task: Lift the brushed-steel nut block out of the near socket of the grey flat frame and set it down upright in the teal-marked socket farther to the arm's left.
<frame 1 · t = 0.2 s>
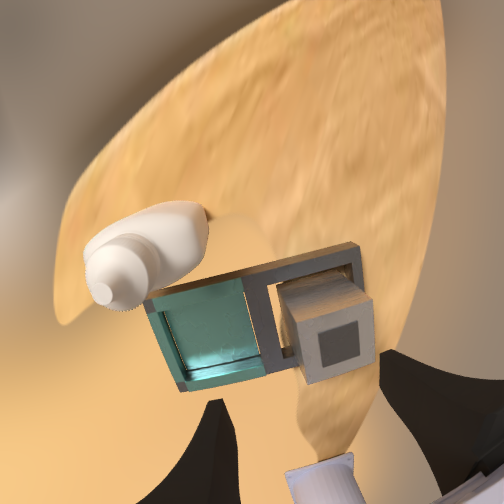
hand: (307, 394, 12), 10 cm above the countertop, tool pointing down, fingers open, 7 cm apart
grey flat frame: (262, 318, 22), on the countertop
nut block: (310, 304, 22), resting in grey flat frame
eye dropper bottle: (166, 227, 20), on the countertop
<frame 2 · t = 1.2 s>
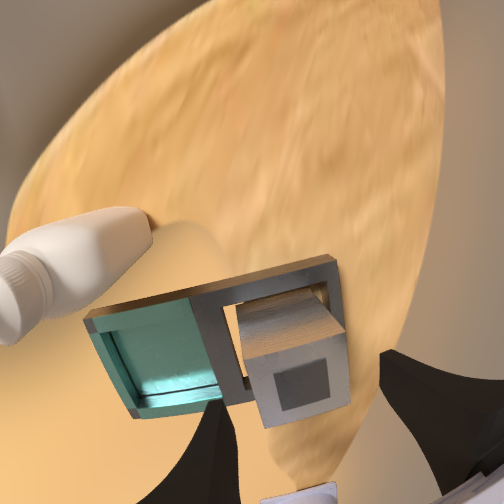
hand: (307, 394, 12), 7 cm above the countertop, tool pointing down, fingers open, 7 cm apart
grey flat frame: (220, 343, 18), on the countertop
nut block: (279, 328, 19), resting in grey flat frame
eye dropper bottle: (109, 237, 16), on the countertop
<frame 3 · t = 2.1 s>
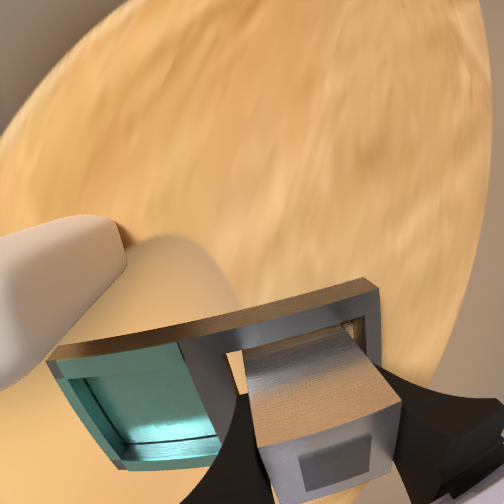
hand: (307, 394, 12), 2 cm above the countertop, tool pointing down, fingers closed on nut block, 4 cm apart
grey flat frame: (222, 390, 14), on the countertop
nut block: (297, 372, 14), resting in grey flat frame, touching gripper
eye dropper bottle: (72, 255, 12), on the countertop
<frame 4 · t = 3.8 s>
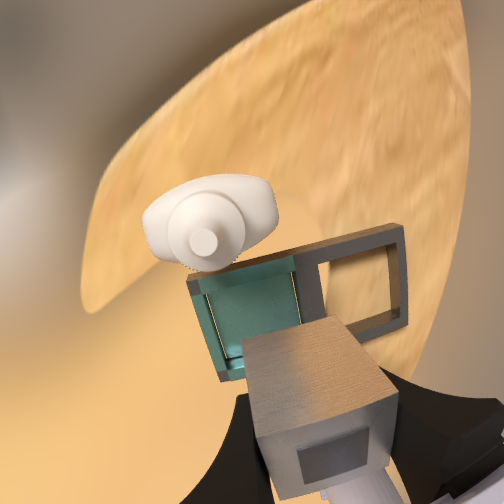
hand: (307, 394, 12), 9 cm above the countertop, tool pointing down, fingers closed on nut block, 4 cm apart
grey flat frame: (307, 300, 21), on the countertop
nut block: (296, 366, 14), point 7 cm above the countertop, touching gripper
eye dropper bottle: (213, 205, 19), on the countertop
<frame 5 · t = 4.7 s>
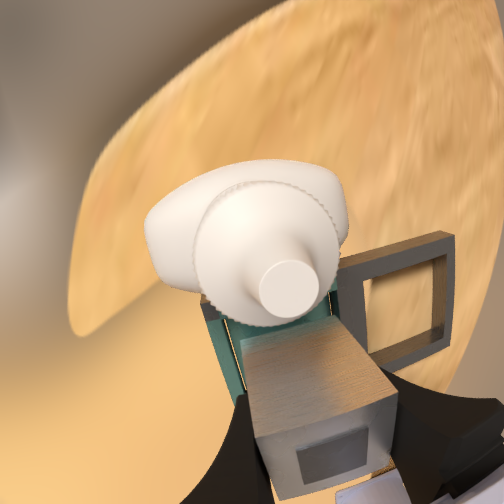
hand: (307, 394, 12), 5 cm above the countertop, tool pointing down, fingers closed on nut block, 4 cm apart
grey flat frame: (344, 322, 17), on the countertop
nut block: (295, 366, 14), point 3 cm above the countertop, touching gripper
eye dropper bottle: (234, 205, 15), on the countertop
when the fingers open (3 cm above the countertop, at t = 5.6 s): nut block stays where it is, resting on grey flat frame.
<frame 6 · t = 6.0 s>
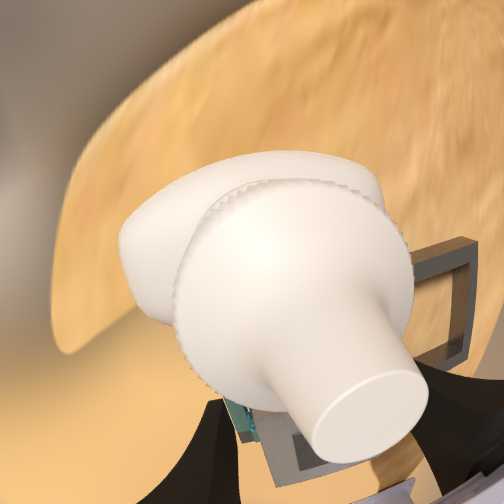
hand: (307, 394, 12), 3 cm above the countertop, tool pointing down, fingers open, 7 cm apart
grey flat frame: (358, 338, 15), on the countertop
nut block: (292, 358, 15), resting on grey flat frame
eye dropper bottle: (236, 208, 13), on the countertop
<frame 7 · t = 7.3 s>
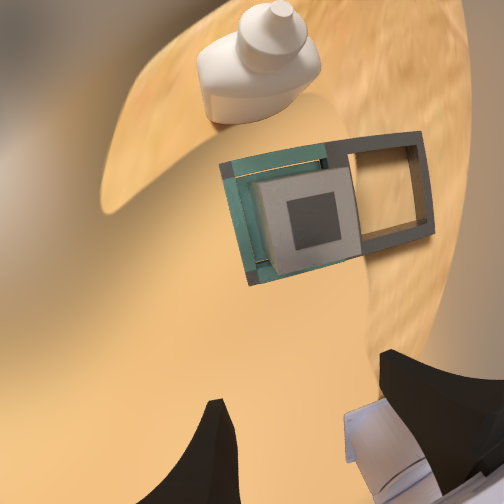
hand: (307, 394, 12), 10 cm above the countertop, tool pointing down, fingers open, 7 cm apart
grey flat frame: (337, 199, 21), on the countertop
nut block: (287, 208, 20), resting on grey flat frame
eye dropper bottle: (245, 100, 19), on the countertop
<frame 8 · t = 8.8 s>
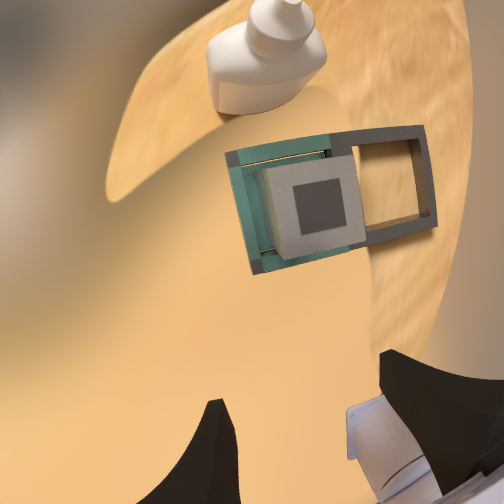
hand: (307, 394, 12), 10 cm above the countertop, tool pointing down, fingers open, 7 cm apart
grey flat frame: (341, 190, 21), on the countertop
nut block: (291, 198, 20), resting on grey flat frame
eye dropper bottle: (251, 92, 19), on the countertop
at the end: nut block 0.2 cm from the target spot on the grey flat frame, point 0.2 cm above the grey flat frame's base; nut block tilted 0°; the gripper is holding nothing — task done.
